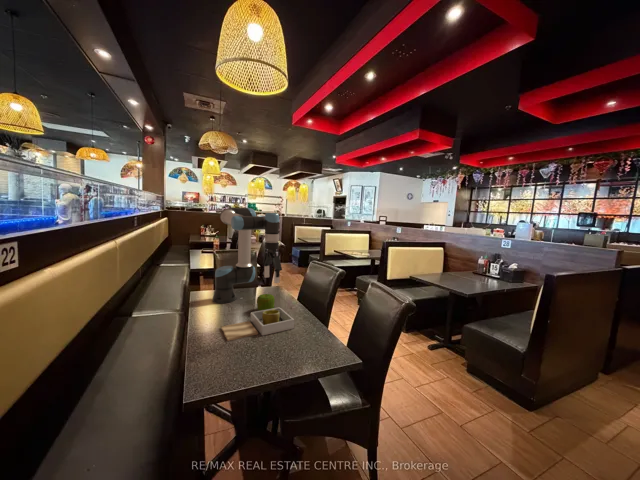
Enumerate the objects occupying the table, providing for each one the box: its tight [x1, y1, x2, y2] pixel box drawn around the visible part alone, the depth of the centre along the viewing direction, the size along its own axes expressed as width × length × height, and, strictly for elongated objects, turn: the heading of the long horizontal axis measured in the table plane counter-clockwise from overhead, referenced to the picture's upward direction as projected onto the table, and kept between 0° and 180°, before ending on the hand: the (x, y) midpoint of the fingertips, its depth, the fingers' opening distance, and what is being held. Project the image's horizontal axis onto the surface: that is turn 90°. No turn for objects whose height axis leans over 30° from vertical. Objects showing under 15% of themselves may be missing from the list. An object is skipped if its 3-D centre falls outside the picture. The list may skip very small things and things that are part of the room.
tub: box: [250, 306, 295, 336], centre depth 143 cm, size 20×18×5 cm
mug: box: [262, 309, 280, 325], centre depth 143 cm, size 12×10×10 cm
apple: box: [256, 293, 276, 311], centre depth 163 cm, size 11×11×11 cm
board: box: [220, 320, 259, 342], centre depth 134 cm, size 15×15×1 cm
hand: (271, 280), depth 141 cm, fingers open, 13 cm apart
